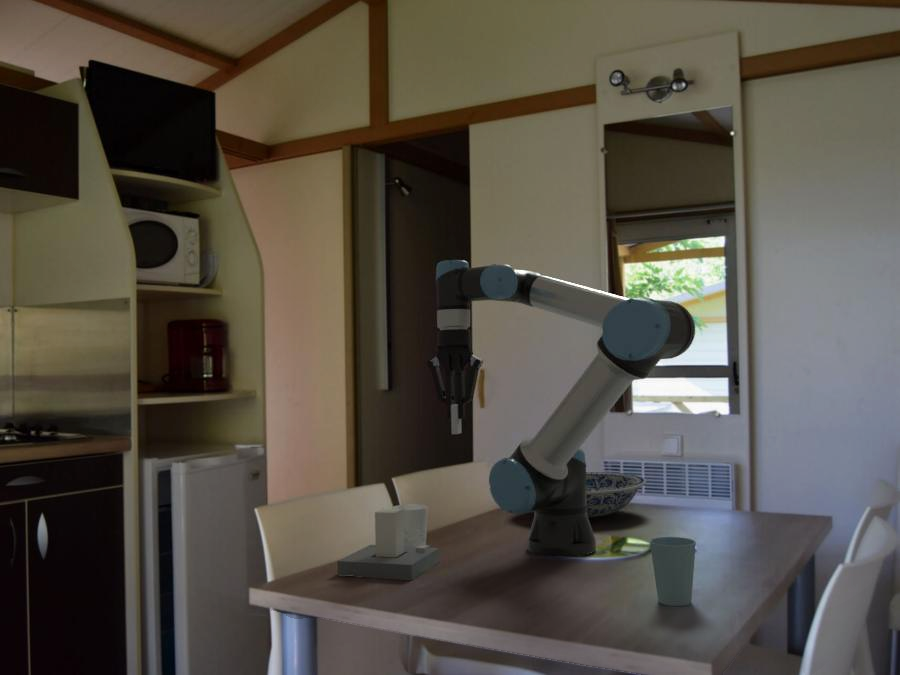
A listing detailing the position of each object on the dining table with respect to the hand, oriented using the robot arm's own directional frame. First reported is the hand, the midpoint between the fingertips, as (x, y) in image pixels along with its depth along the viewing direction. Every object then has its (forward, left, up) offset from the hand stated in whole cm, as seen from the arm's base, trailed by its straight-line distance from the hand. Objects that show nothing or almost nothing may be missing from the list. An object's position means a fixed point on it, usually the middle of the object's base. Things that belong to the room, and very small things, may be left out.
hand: (456, 433), depth 194 cm
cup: (-49, +31, -27) cm, 64 cm away
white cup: (+11, +2, -27) cm, 29 cm away
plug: (+9, +19, -26) cm, 34 cm away
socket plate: (+9, +19, -26) cm, 34 cm away
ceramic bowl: (-19, -50, -27) cm, 60 cm away
